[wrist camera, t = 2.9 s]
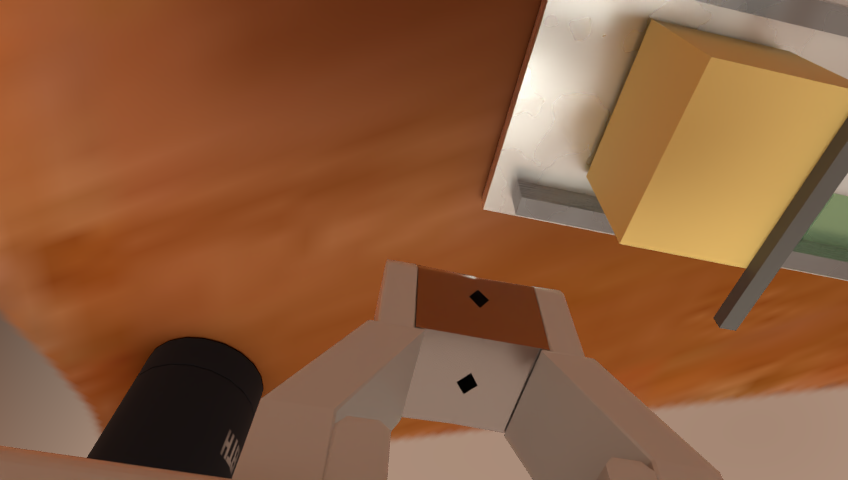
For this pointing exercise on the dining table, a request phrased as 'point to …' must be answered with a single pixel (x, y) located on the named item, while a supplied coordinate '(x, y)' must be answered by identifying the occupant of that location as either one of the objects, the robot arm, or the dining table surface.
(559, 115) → the track
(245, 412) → the wine bottle
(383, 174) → the dining table surface
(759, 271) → the block
